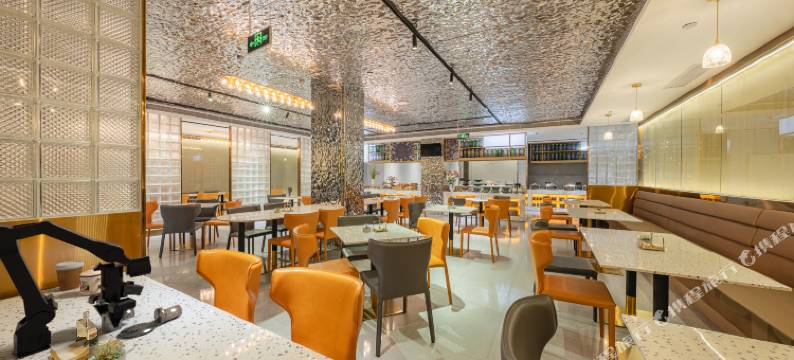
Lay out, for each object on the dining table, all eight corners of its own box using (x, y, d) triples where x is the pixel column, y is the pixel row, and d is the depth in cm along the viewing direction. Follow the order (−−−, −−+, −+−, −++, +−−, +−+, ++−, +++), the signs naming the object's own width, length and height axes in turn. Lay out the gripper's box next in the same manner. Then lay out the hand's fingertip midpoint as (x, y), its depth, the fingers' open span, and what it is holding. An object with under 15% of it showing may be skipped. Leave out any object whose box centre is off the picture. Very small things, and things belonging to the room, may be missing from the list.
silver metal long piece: (128, 341, 96) (128, 323, 96) (114, 334, 100) (114, 318, 100) (185, 318, 112) (185, 303, 112) (171, 313, 116) (171, 299, 116)
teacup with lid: (74, 294, 134) (74, 268, 134) (100, 287, 143) (100, 262, 143) (89, 298, 130) (89, 271, 130) (115, 290, 139) (115, 265, 139)
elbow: (105, 334, 100) (105, 316, 100) (98, 330, 103) (98, 313, 103) (137, 323, 108) (137, 306, 108) (129, 320, 110) (129, 304, 110)
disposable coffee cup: (87, 287, 143) (87, 262, 143) (57, 293, 135) (57, 267, 134) (81, 283, 148) (81, 259, 148) (52, 289, 140) (52, 263, 140)
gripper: (154, 277, 107) (153, 321, 107) (127, 270, 115) (127, 311, 115) (114, 288, 97) (114, 336, 97) (87, 279, 105) (87, 323, 105)
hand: (112, 325), depth 104 cm, fingers closed on elbow, 5 cm apart
